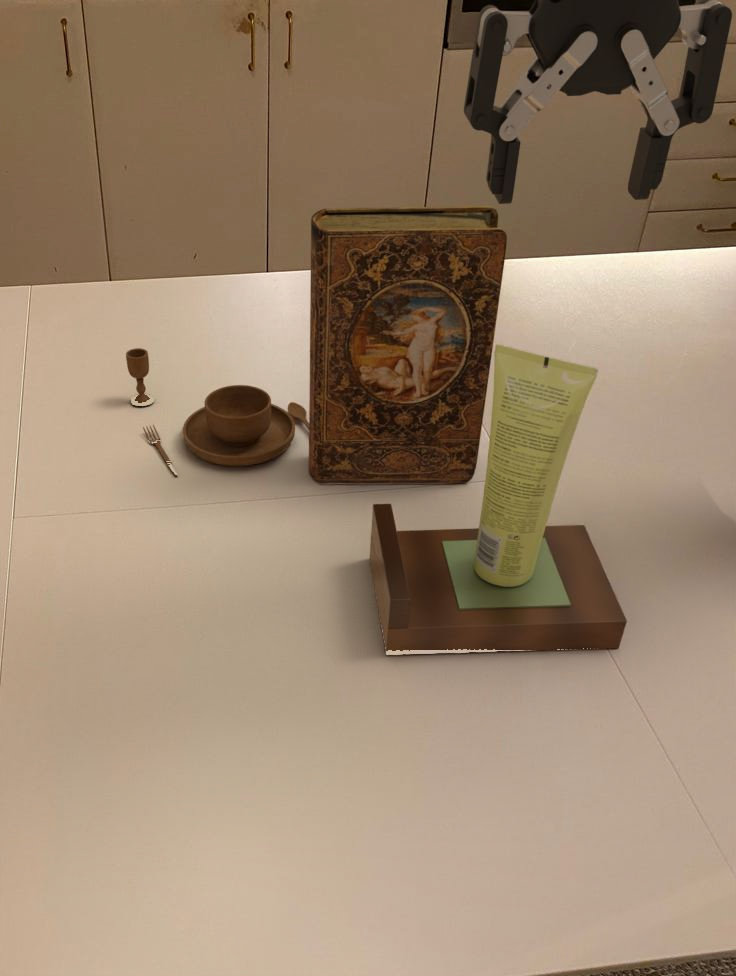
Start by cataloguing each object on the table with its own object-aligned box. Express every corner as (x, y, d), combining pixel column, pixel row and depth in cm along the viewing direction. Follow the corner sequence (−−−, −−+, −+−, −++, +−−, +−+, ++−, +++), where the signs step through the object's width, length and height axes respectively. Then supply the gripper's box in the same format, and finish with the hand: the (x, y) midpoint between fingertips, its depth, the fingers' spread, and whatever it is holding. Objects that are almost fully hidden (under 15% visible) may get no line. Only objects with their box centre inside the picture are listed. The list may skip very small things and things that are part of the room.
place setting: (177, 489, 99) (172, 438, 95) (122, 399, 113) (116, 351, 109) (335, 450, 103) (337, 400, 99) (264, 369, 117) (263, 321, 113)
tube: (526, 548, 85) (569, 334, 72) (550, 584, 81) (599, 366, 68) (464, 556, 84) (495, 343, 71) (484, 593, 81) (521, 375, 68)
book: (308, 484, 99) (311, 232, 82) (308, 455, 103) (311, 208, 86) (473, 484, 98) (510, 228, 81) (467, 454, 102) (500, 205, 85)
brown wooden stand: (577, 551, 90) (591, 496, 86) (618, 648, 80) (635, 592, 76) (369, 558, 90) (372, 503, 86) (385, 656, 80) (390, 600, 76)
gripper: (506, -112, 49) (468, 223, 60) (795, -122, 49) (703, 215, 60) (479, -128, 54) (448, 182, 65) (738, -137, 54) (663, 174, 65)
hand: (570, 198), depth 62 cm, fingers open, 8 cm apart
